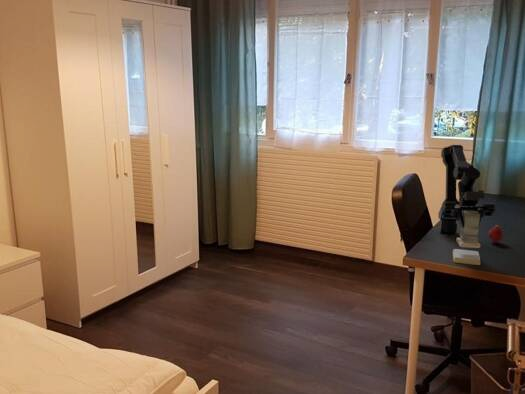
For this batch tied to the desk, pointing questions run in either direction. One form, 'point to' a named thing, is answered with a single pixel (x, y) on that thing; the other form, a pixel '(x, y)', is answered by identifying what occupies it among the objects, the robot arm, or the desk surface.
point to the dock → (466, 257)
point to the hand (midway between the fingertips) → (470, 228)
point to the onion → (496, 234)
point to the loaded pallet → (469, 230)
